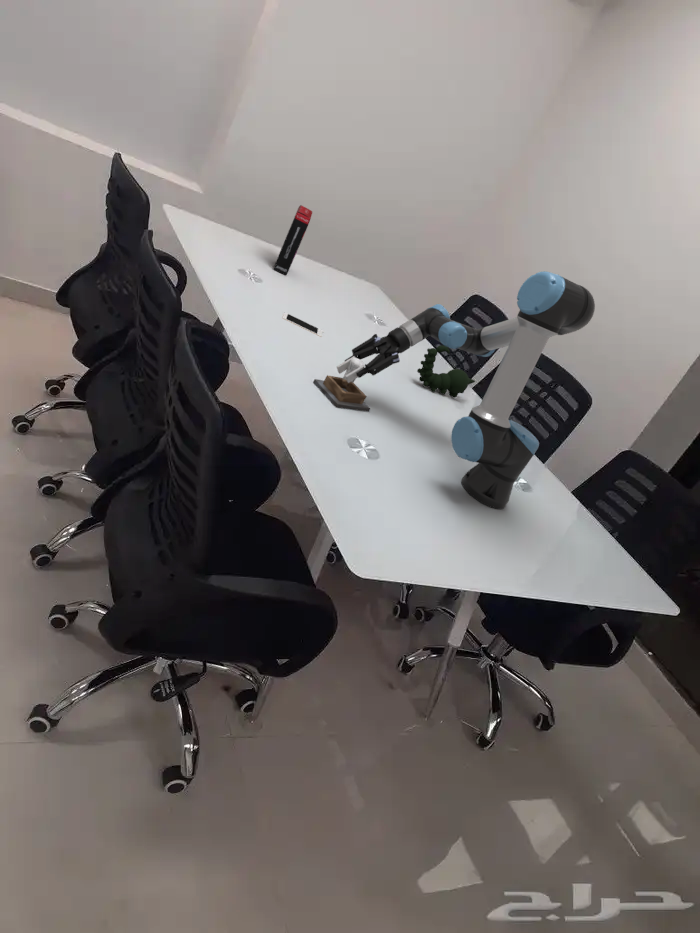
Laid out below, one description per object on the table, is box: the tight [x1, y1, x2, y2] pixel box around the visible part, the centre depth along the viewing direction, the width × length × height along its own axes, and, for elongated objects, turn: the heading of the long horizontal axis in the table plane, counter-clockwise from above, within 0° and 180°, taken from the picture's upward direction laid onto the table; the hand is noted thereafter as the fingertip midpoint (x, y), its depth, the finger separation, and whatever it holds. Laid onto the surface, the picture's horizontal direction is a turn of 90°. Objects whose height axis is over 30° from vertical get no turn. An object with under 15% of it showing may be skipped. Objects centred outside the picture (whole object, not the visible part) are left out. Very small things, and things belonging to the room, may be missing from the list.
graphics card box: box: [273, 204, 313, 276], centre depth 314 cm, size 17×7×27 cm, turn 1°
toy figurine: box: [416, 344, 476, 398], centre depth 275 cm, size 9×19×25 cm
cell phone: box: [282, 312, 324, 338], centre depth 269 cm, size 8×16×1 cm, turn 89°
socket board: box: [313, 374, 371, 412], centre depth 226 cm, size 14×14×4 cm
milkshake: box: [341, 358, 365, 387], centre depth 223 cm, size 4×5×10 cm
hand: (342, 374), depth 221 cm, fingers closed on milkshake, 4 cm apart
